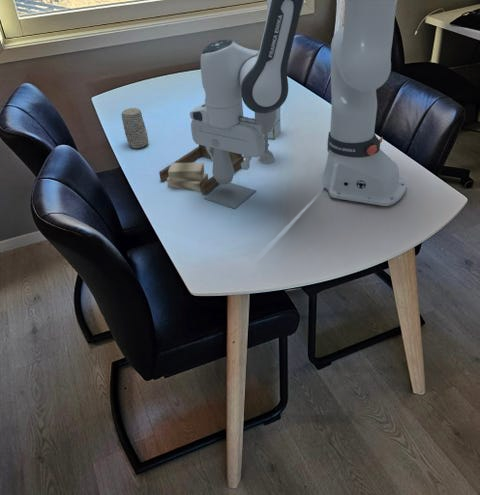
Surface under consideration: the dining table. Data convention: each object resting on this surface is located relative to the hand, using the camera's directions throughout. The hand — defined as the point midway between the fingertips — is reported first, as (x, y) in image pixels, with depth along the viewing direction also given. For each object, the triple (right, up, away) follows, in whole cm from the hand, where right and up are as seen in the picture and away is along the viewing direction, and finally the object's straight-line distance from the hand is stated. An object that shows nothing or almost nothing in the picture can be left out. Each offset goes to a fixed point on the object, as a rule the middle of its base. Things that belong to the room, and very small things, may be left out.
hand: (230, 164), depth 124 cm
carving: (-31, +12, +33) cm, 47 cm away
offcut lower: (-12, -4, +12) cm, 17 cm away
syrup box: (+12, +15, +34) cm, 39 cm away
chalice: (+11, +5, +21) cm, 24 cm away
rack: (-8, 0, +16) cm, 18 cm away
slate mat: (0, -7, +5) cm, 9 cm away
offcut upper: (-12, -2, +10) cm, 16 cm away
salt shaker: (-2, -4, +4) cm, 6 cm away
